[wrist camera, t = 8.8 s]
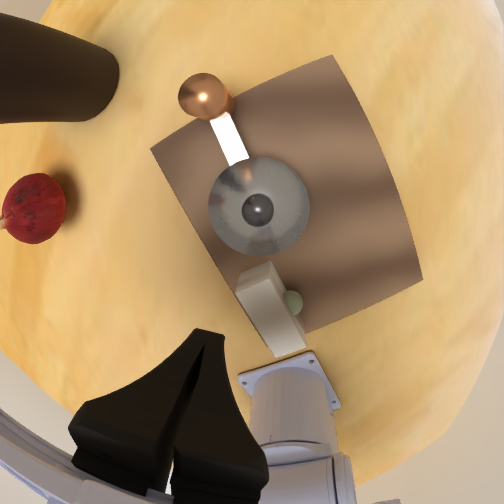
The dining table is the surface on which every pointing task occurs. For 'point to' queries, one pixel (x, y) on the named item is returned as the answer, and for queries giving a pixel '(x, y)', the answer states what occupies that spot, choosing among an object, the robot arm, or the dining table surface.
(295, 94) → the stand
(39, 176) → the onion
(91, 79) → the bottle
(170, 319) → the dining table surface
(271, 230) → the grey and brown piece
